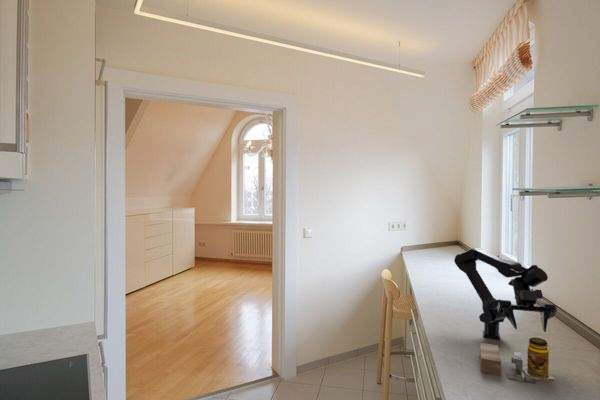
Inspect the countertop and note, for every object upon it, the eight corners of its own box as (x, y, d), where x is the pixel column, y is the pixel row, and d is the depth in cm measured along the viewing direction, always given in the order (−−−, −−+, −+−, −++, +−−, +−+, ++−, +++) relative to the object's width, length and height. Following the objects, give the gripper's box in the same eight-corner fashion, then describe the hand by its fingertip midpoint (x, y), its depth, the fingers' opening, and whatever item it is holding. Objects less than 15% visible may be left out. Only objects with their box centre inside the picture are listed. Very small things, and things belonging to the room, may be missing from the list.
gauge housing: (480, 355, 142) (480, 342, 141) (529, 363, 135) (529, 350, 135) (481, 373, 128) (481, 359, 128) (535, 383, 121) (536, 368, 121)
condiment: (533, 379, 124) (533, 344, 124) (519, 367, 133) (519, 334, 132) (555, 379, 124) (556, 344, 124) (539, 367, 132) (540, 334, 132)
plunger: (510, 362, 134) (510, 351, 134) (519, 364, 133) (520, 352, 133) (513, 376, 124) (513, 364, 124) (524, 378, 123) (524, 366, 123)
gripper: (499, 279, 142) (505, 317, 132) (555, 282, 137) (567, 322, 127) (494, 293, 150) (500, 331, 140) (547, 297, 145) (557, 336, 134)
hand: (530, 330), depth 135 cm, fingers open, 9 cm apart
